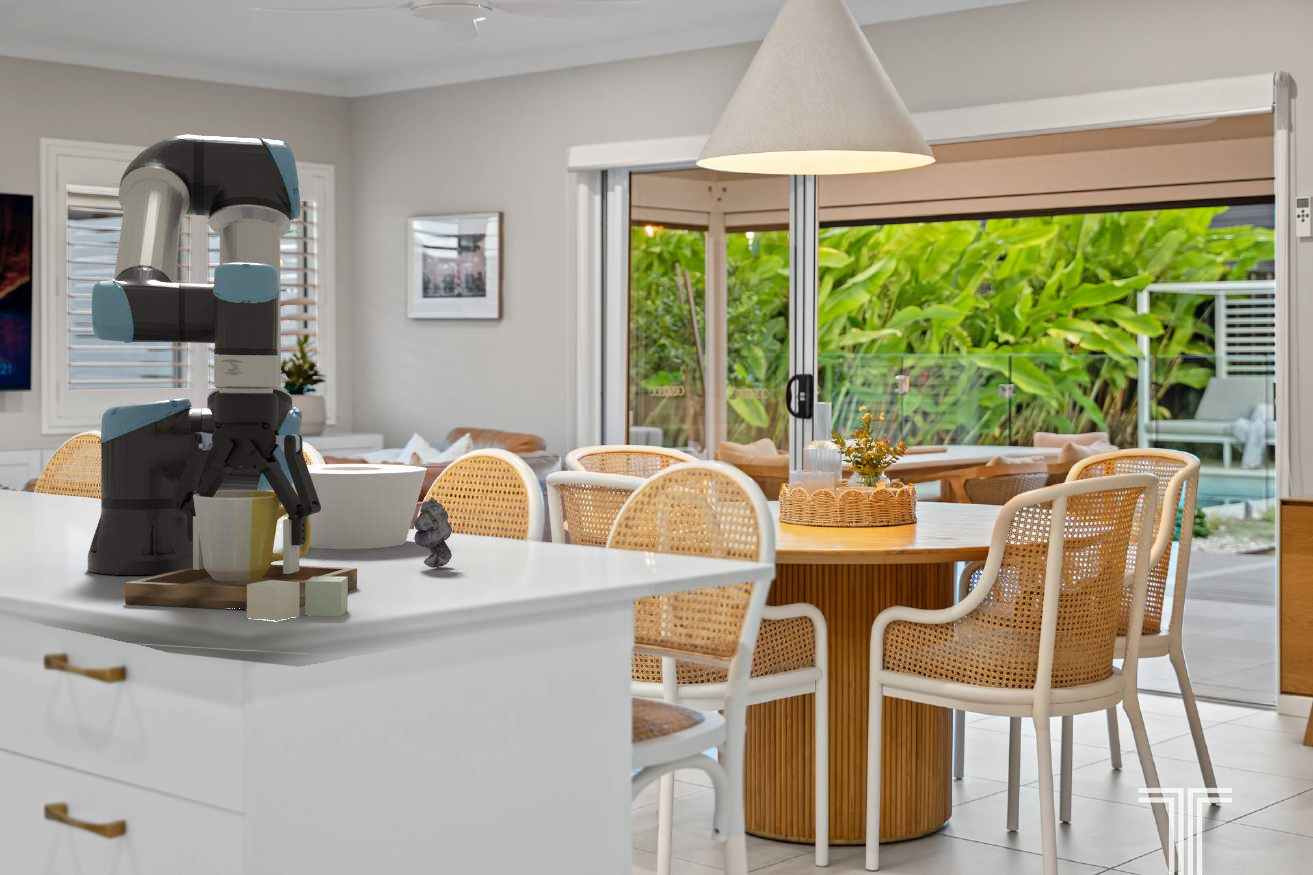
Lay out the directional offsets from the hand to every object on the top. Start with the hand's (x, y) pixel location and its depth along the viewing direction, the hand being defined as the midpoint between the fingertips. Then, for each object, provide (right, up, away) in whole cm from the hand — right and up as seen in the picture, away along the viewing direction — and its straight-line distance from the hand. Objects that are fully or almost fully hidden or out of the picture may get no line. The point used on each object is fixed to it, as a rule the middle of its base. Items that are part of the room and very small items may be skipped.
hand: (246, 570), depth 176 cm
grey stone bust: (+19, -2, +28) cm, 33 cm away
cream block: (+8, -4, -16) cm, 18 cm away
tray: (0, -3, 0) cm, 3 cm away
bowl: (+1, -1, +57) cm, 57 cm away
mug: (+1, -1, 0) cm, 1 cm away
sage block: (+13, -4, -12) cm, 18 cm away
